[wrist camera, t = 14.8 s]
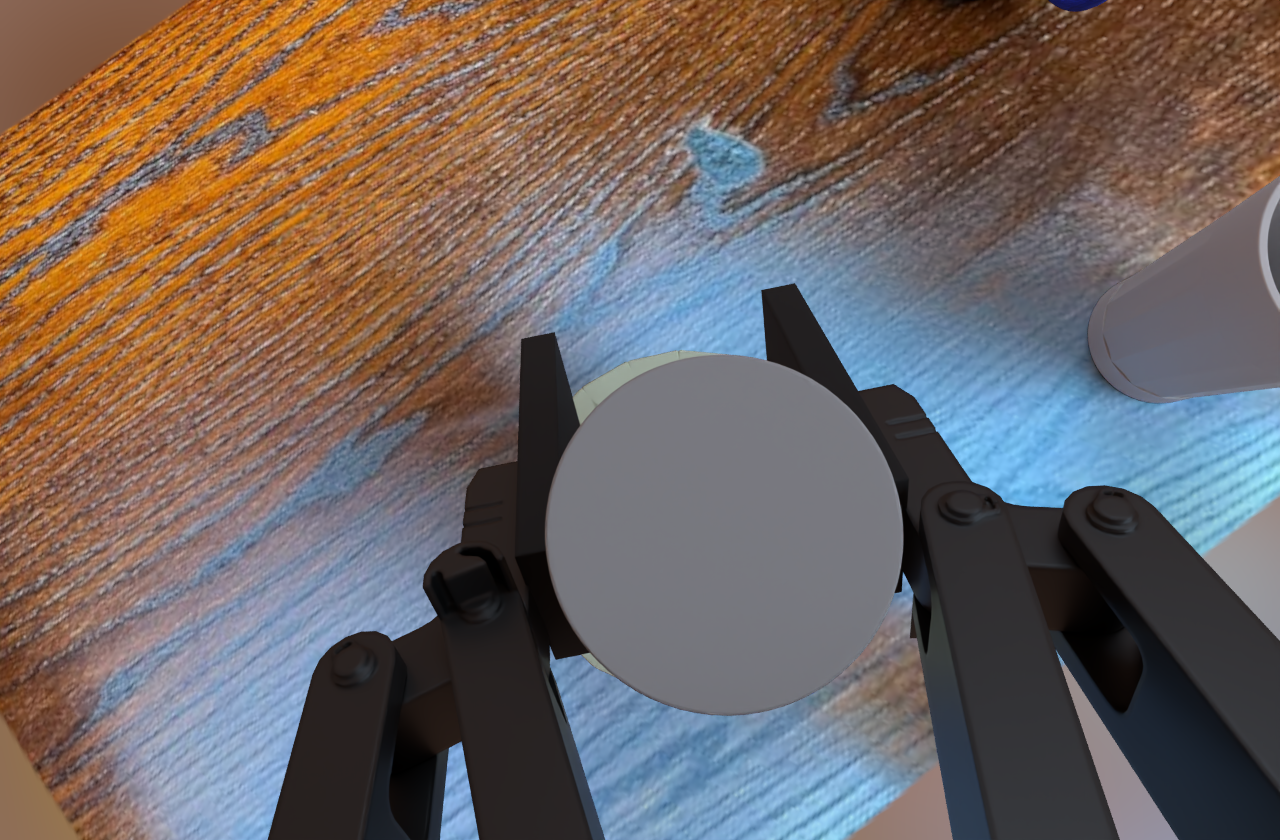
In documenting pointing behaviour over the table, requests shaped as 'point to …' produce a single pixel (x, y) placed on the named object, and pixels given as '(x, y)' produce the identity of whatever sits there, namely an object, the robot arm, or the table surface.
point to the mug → (1076, 4)
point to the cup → (1199, 312)
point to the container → (724, 535)
